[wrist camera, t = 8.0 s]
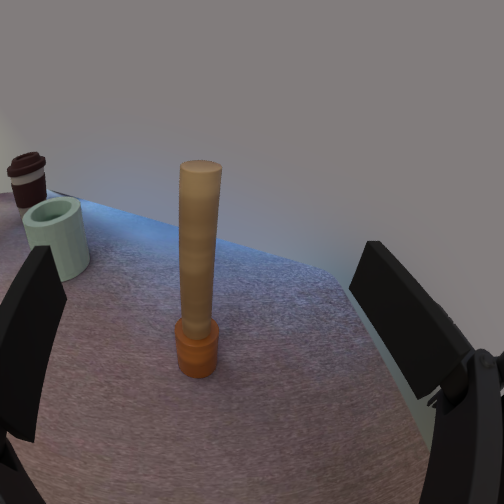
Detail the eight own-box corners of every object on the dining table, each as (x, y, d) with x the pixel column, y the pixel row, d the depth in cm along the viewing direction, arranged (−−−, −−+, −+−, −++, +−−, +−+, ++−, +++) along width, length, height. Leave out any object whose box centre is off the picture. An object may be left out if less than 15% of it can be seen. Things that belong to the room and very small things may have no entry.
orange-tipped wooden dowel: (213, 381, 28) (228, 180, 16) (174, 373, 28) (157, 172, 16) (219, 350, 32) (238, 161, 20) (183, 344, 32) (179, 154, 20)
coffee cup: (15, 217, 50) (4, 159, 41) (48, 204, 56) (40, 147, 48) (20, 232, 45) (7, 166, 37) (57, 216, 52) (48, 153, 44)
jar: (70, 288, 36) (53, 230, 30) (28, 275, 36) (11, 222, 30) (100, 251, 44) (91, 198, 39) (58, 243, 44) (48, 194, 39)
